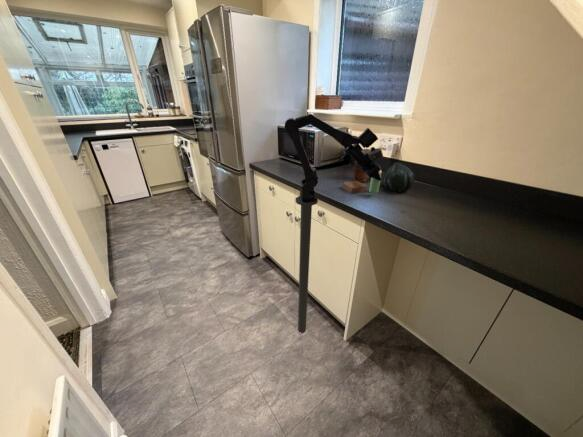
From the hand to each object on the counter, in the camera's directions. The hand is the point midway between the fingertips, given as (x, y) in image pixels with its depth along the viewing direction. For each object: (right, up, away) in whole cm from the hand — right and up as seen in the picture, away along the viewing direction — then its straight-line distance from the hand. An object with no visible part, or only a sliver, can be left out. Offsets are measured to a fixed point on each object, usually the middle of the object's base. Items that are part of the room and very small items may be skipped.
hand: (378, 178), depth 112 cm
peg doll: (-1, -6, +3) cm, 7 cm away
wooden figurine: (0, +4, +26) cm, 27 cm away
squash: (+14, -4, +13) cm, 19 cm away
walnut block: (-9, -4, +12) cm, 15 cm away
